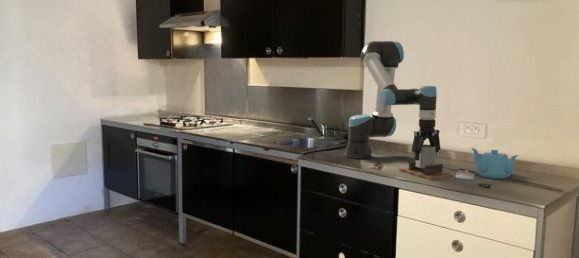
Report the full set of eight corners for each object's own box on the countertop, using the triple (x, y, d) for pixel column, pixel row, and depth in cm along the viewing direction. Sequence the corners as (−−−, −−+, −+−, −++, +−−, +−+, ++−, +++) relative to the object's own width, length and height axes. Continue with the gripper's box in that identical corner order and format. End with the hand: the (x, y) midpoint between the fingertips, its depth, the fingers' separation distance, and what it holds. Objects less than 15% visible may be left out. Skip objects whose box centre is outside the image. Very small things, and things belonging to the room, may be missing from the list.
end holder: (398, 170, 240) (399, 160, 240) (420, 168, 247) (421, 157, 246) (430, 180, 221) (430, 169, 220) (453, 177, 227) (453, 166, 227)
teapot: (476, 179, 223) (478, 152, 221) (469, 170, 241) (470, 146, 239) (517, 181, 220) (518, 154, 218) (506, 172, 238) (508, 147, 236)
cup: (421, 164, 239) (421, 143, 238) (437, 166, 234) (438, 145, 233) (413, 166, 233) (414, 146, 231) (430, 169, 227) (431, 148, 226)
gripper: (415, 120, 222) (413, 169, 225) (450, 118, 232) (447, 165, 235) (404, 119, 229) (402, 166, 232) (438, 116, 238) (436, 162, 241)
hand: (425, 165), depth 233 cm, fingers closed on cup, 8 cm apart
